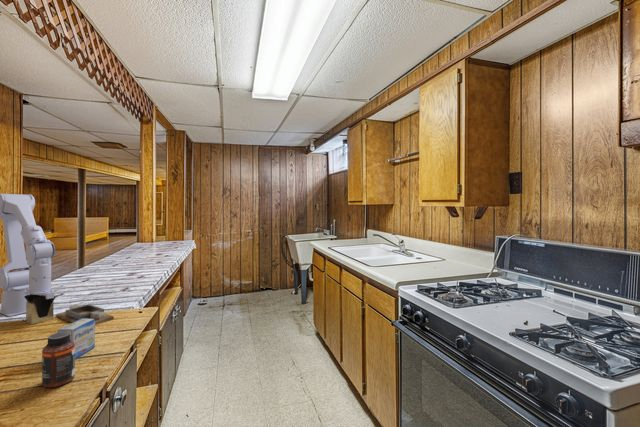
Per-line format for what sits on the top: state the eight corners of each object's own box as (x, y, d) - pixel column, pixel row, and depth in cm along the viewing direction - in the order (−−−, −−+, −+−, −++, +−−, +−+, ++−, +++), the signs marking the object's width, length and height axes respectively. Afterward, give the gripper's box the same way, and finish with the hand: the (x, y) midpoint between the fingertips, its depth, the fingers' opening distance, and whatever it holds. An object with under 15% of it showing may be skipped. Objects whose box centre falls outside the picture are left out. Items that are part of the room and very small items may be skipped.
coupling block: (26, 322, 105) (26, 302, 104) (47, 316, 110) (47, 297, 110) (31, 324, 103) (31, 304, 103) (53, 318, 108) (53, 299, 108)
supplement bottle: (81, 375, 75) (81, 330, 75) (58, 390, 69) (58, 341, 69) (59, 373, 76) (59, 328, 75) (34, 387, 70) (35, 339, 70)
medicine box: (72, 361, 81) (73, 329, 81) (56, 360, 82) (56, 328, 81) (95, 347, 89) (95, 318, 89) (80, 346, 89) (80, 317, 89)
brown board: (56, 316, 110) (56, 308, 110) (84, 309, 118) (84, 301, 118) (85, 327, 102) (85, 319, 102) (113, 319, 110) (113, 310, 110)
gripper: (15, 276, 105) (15, 314, 106) (35, 282, 99) (35, 323, 100) (40, 272, 112) (40, 308, 112) (61, 278, 105) (61, 316, 106)
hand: (39, 315), depth 106 cm, fingers closed on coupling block, 4 cm apart
